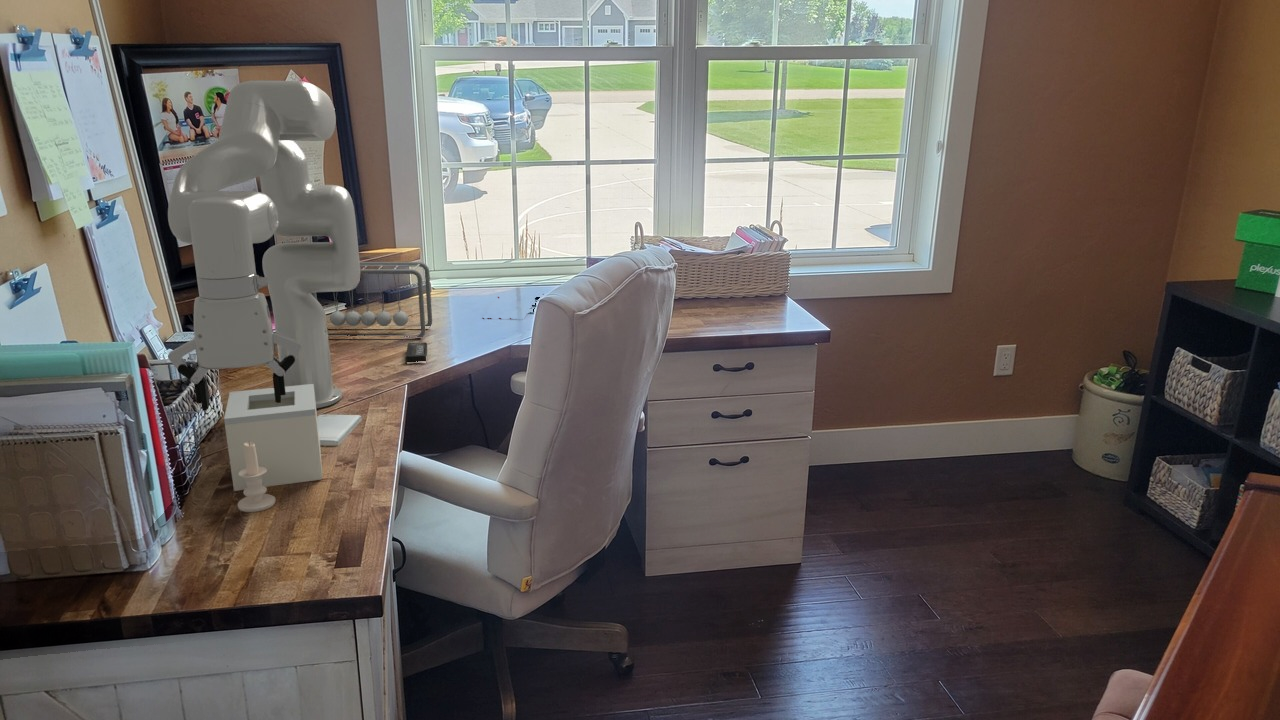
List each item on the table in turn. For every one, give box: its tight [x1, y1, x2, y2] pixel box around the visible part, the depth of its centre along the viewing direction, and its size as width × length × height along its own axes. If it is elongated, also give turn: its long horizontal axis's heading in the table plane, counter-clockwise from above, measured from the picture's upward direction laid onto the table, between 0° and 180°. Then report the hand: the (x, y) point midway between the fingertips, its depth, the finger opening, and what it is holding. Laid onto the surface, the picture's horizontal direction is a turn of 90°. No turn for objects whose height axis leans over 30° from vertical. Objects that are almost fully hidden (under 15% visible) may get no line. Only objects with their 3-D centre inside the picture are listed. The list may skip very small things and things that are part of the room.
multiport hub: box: [405, 342, 428, 363], centre depth 205 cm, size 4×11×2 cm, turn 11°
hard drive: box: [317, 414, 362, 447], centre depth 161 cm, size 2×8×12 cm
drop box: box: [223, 384, 323, 492], centre depth 143 cm, size 13×13×12 cm
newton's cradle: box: [311, 261, 433, 338], centre depth 221 cm, size 30×10×18 cm, turn 93°
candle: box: [237, 442, 276, 513], centre depth 132 cm, size 5×5×10 cm
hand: (242, 403), depth 128 cm, fingers open, 9 cm apart
